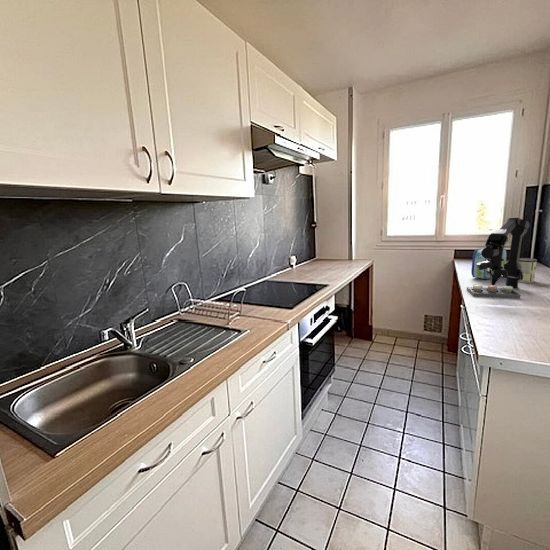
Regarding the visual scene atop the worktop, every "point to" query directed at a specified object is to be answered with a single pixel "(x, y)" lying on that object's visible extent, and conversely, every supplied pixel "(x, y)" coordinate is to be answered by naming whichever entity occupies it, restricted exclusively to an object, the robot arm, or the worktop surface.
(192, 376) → the worktop surface
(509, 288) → the button sage
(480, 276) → the lunch box
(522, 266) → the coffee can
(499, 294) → the console
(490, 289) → the button terracotta
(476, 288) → the button ivory
